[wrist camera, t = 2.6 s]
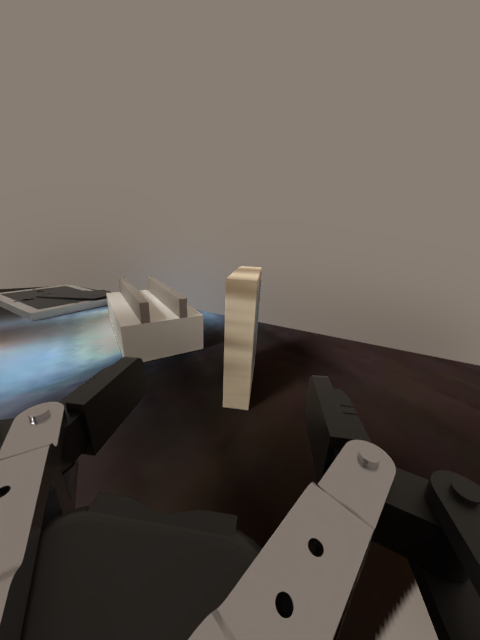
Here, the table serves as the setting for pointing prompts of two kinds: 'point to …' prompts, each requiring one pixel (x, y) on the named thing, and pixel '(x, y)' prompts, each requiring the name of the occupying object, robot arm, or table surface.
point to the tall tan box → (240, 335)
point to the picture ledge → (153, 321)
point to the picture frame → (52, 301)
